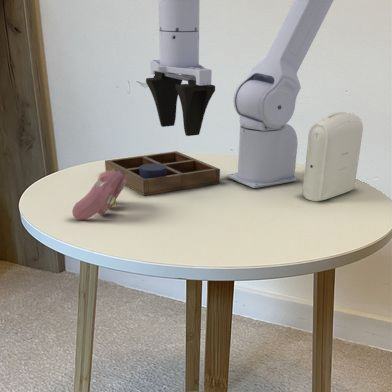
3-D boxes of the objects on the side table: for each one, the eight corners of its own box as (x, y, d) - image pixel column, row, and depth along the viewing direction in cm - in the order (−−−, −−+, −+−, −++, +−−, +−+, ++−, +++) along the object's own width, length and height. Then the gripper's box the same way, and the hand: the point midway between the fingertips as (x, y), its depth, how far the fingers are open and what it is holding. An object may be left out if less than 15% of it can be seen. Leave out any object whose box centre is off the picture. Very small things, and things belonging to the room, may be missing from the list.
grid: (176, 164, 111) (176, 151, 110) (219, 183, 101) (220, 168, 100) (105, 174, 105) (104, 160, 104) (144, 195, 94) (143, 180, 93)
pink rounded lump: (97, 233, 84) (115, 190, 80) (68, 216, 84) (85, 173, 80) (118, 211, 92) (136, 171, 89) (92, 196, 92) (109, 155, 88)
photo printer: (319, 203, 92) (330, 119, 86) (297, 197, 95) (306, 114, 88) (357, 191, 98) (370, 111, 92) (336, 185, 101) (346, 107, 94)
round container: (158, 177, 101) (158, 162, 100) (171, 184, 98) (171, 168, 97) (135, 181, 99) (134, 165, 98) (147, 188, 96) (147, 171, 95)
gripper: (131, 28, 89) (135, 124, 96) (180, 34, 78) (180, 142, 85) (172, 27, 92) (173, 120, 99) (225, 33, 81) (222, 137, 88)
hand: (179, 130), depth 92 cm, fingers open, 7 cm apart
